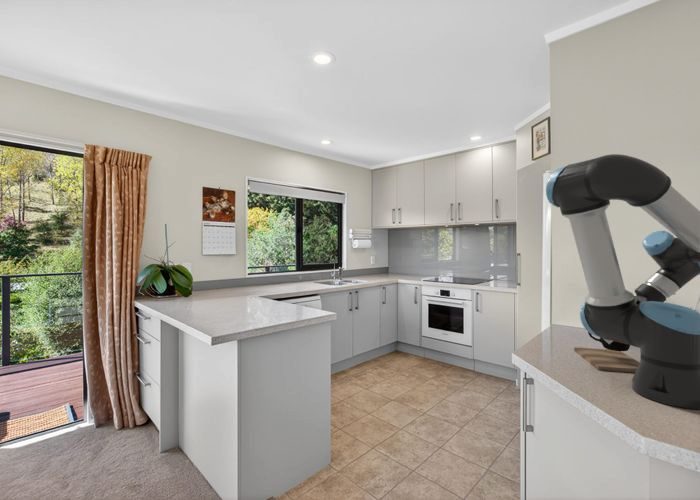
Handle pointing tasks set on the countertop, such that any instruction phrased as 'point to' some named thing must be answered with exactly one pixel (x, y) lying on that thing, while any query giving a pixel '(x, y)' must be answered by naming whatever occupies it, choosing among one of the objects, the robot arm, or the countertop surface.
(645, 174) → the robot arm
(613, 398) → the countertop surface
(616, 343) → the mug
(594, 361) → the walnut board
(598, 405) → the countertop surface
